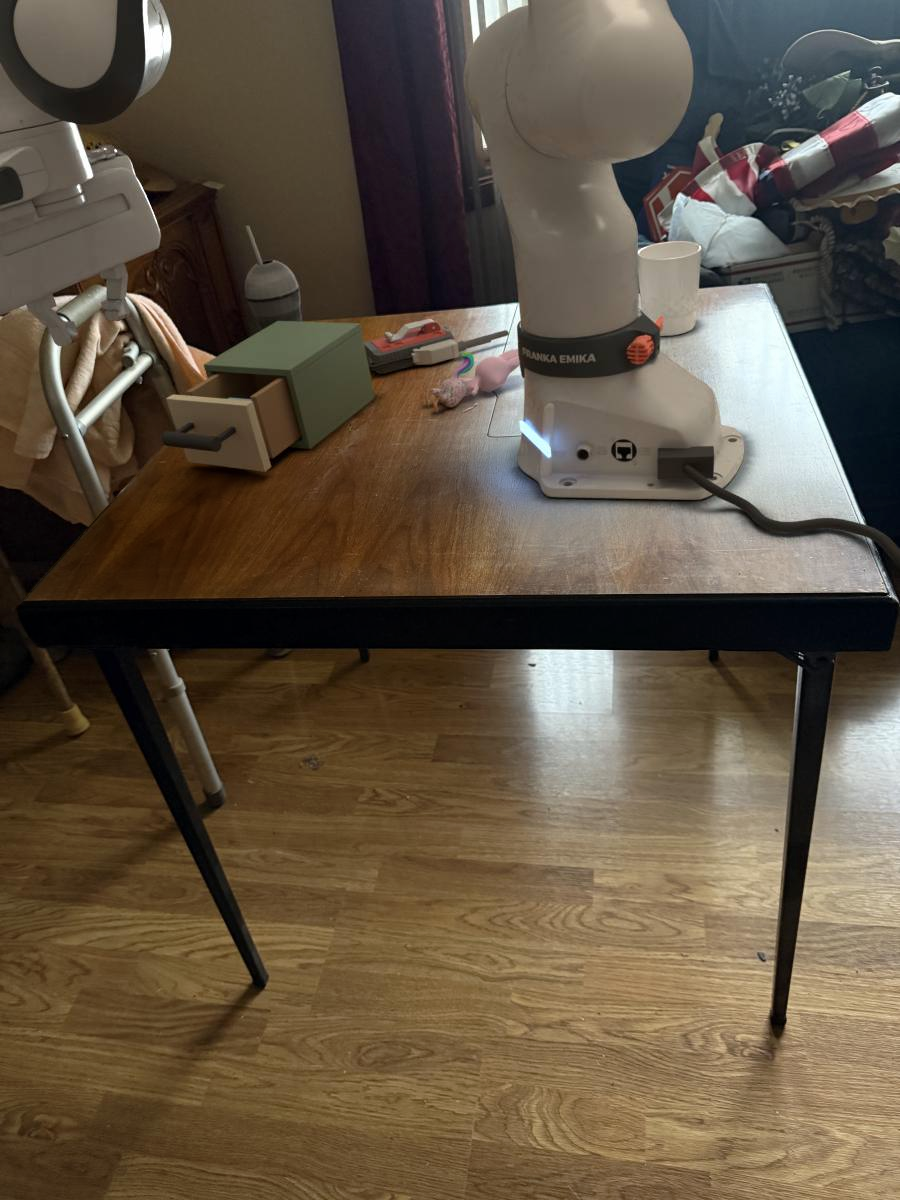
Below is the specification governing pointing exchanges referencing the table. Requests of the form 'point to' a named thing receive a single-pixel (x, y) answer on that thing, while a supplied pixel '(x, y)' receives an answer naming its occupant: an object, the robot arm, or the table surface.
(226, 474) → the table surface
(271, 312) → the beverage cup
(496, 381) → the pink unicorn toy
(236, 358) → the cabinet
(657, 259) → the white cup
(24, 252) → the robot arm
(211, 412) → the drawer
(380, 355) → the toy chainsaw
